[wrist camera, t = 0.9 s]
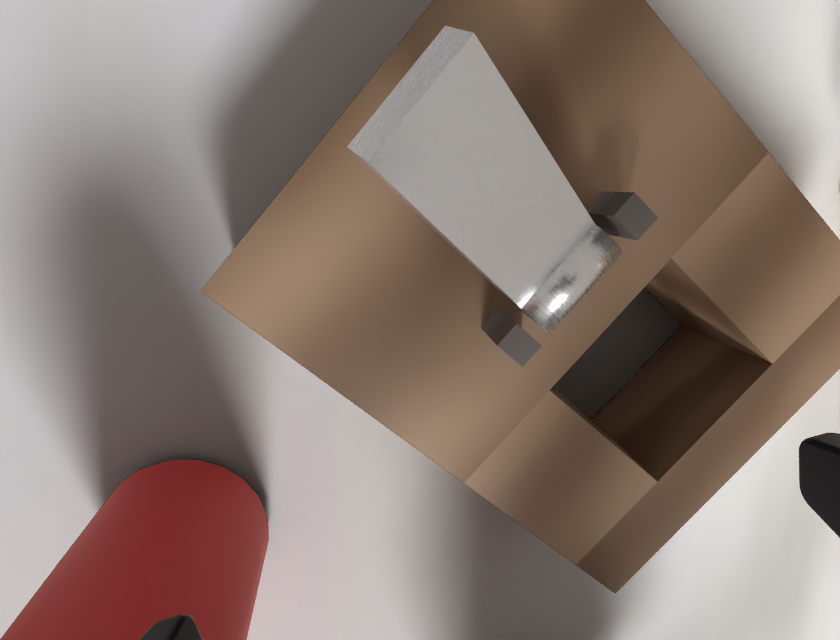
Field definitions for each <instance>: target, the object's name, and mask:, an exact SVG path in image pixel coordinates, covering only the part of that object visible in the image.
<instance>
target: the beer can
mask: <svg viewBox="0 0 840 640" xmlns="http://www.w3.org/2000/svg"><path fill="white" fill-rule="evenodd" d="M268 540H269V538H268V517H267V515H266V512H265V510H264V507H263V505H262V502H261V500H260V498H259V496H258V495H257V494H256V493H255V491H254V490H253V489H252V488H251V487H250V486H249V485H248V484H247V483H246V481H245V480H244V479H243V478H241V477H239V476H238V475H236V474H234V473H233V472H231V471H229V470H227V469H226V468H224V467H222V466H219V465H215V464H211V463H208V462H204V461H200V460H168V461H165V462H162V463H158V464H155V465H152V466H148V467H145V468H142V469H140V470H138V471H137V472H135V473H134V474H132V475H131V476H129V477H128V478H126V479H125V480H123V481H122V482H120V483H119V484H118V486H117V487H116V488H115V490H114V491H113V492H112V494H111V495H110V496H109V498H108V499H107V500H106V501H105V503H104V504H103V505H102V507H101V508H100V509H99V511H98V512H97V513H96V515H95V516H94V517H93V518H92V520H91V521H90V522H89V524H88V525H87V526H86V528H85V529H84V530H83V532H82V533H81V534H80V536H79V537H78V538H77V539H76V541H75V542H74V543H73V545H72V546H71V547H70V549H69V550H68V551H67V553H66V554H65V555H64V556H63V558H62V559H61V560H60V562H59V563H58V564H57V566H56V567H55V568H54V570H53V571H52V572H51V574H50V575H49V576H48V577H47V579H46V580H45V581H44V583H43V584H42V585H41V587H40V588H39V589H38V591H37V592H36V593H35V594H34V596H33V597H32V598H31V600H30V601H29V602H28V604H27V605H26V606H25V608H24V609H23V610H22V612H21V613H20V614H19V615H18V617H17V618H16V619H15V621H14V622H13V623H12V625H11V626H10V627H9V629H8V630H7V631H6V633H5V634H4V635H3V636H2V638H1V639H0V640H139V639H140V638H141V637H142V636H143V635H144V634H145V633H146V632H147V631H148V630H149V629H150V628H151V626H153V625H154V624H155V623H156V622H158V621H160V620H162V619H165V618H169V617H173V616H176V615H180V614H184V613H185V614H189V615H191V616H192V617H193V619H194V621H195V623H196V625H197V627H198V630H199V632H200V634H201V637H202V639H203V640H246V639H247V635H248V630H249V626H250V621H251V617H252V612H253V608H254V603H255V599H256V594H257V590H258V585H259V581H260V576H261V572H262V567H263V563H264V558H265V554H266V549H267V545H268Z"/></svg>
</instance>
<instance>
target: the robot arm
mask: <svg viewBox="0 0 840 640" xmlns="http://www.w3.org/2000/svg"><path fill="white" fill-rule="evenodd" d="M799 480H800V490H801V493H802V495H803V497H804V499H805V501H806V502H807V504H808V505H809V506H810V507H811V508H812V509H813V510H814V511H815V512H816V513H817V514H818V515H819V516H820V517H821V519H822V520H823V521H824V522H825V523H826V524H827V525H828V526H829V527H830V528H831V529H832V530H833V531H834V532H835V533H836V534H837V535H838V536H839V537H840V434H838V433H825V434H821V435H818V436H814V437H810V438H807V439H805V440H804V441H802V443H801V445H800V447H799ZM139 640H203V639H202V637H201V634H200V632H199V630H198V627H197V625H196V623H195V621H194V619H193V617H192V616H191V615H189V614H185V613H184V614H180V615H176V616H173V617H169V618H165V619H162V620H160V621H158V622H156V623H155V624H154V625H153V626H151V628H150V629H149V630H148V631H147V632H146V633H145V634H144V635H143V636H142V637H141V638H140V639H139Z"/></svg>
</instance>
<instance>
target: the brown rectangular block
mask: <svg viewBox="0 0 840 640" xmlns="http://www.w3.org/2000/svg"><path fill="white" fill-rule="evenodd" d="M445 26H448V27H452V28H456V29H461V30H465V31H469V32H473V33H475V35H476V37H477V38H478V40H479V41H480V43H481V45H482V46H483V48H484V49H485V51H486V52H487V54H488V56H489V57H490V59H491V60H492V62H493V64H494V65H495V67H496V68H497V70H498V71H499V73H500V75H501V76H502V78H503V79H504V81H505V82H506V84H507V86H508V87H509V89H510V90H511V92H512V94H513V95H514V97H515V98H516V100H517V101H518V103H519V105H520V106H521V108H522V109H523V111H524V113H525V114H526V116H527V117H528V119H529V120H530V122H531V124H532V125H533V127H534V128H535V130H536V131H537V133H538V135H539V136H540V138H541V139H542V141H543V143H544V144H545V146H546V147H547V149H548V150H549V152H550V154H551V155H552V157H553V158H554V160H555V162H556V163H557V165H558V166H559V168H560V169H561V171H562V173H563V174H564V176H565V177H566V179H567V180H568V182H569V184H570V185H571V187H572V188H573V190H574V192H575V193H576V195H577V196H578V198H579V199H580V201H581V203H582V204H583V206H584V207H585V209H586V211H587V212H588V214H589V215H590V217H591V218H592V220H593V222H594V223H595V225H597V226H598V227H599V228H601V229H602V230H603V231H605V232H606V233H607V234H608V235H609V236H610V237H612V238H613V239H614V240H615V242H616V243H617V244H618V245H619V246H620V248H621V249H622V252H623V254H622V255H621V256H620V257H619V258H618V260H617V261H616V262H615V263H614V264H613V265H612V266H611V267H610V268H609V269H608V271H607V272H606V273H605V274H604V275H603V276H602V277H601V278H600V279H599V280H598V282H597V283H596V284H595V285H594V286H593V287H592V288H591V289H590V290H589V292H588V293H587V294H586V295H585V296H584V297H583V298H582V299H581V300H580V301H579V303H578V304H577V305H576V306H575V307H574V308H573V309H572V310H571V311H570V312H569V314H568V315H567V316H566V317H565V318H564V319H563V320H562V321H561V322H560V323H559V325H558V326H557V327H556V328H555V329H554V330H553V331H552V332H551V333H550V334H549V333H547V332H546V331H545V330H543V329H542V328H541V327H540V326H538V325H537V324H536V323H535V322H534V321H532V320H531V319H530V318H529V317H528V316H527V315H525V314H524V313H523V312H522V311H521V310H520V309H519V308H517V307H516V306H515V305H514V304H513V303H512V302H511V301H510V300H509V299H508V298H507V297H506V296H505V295H503V294H502V293H501V292H500V291H499V290H498V289H497V288H496V287H495V286H494V285H493V284H492V283H491V282H490V281H489V280H488V279H487V278H485V277H484V276H483V275H482V274H481V273H480V272H479V271H478V270H477V269H476V268H475V267H474V266H473V265H472V264H471V263H470V262H469V261H467V260H466V259H465V258H464V257H463V256H462V255H461V254H460V253H459V252H458V251H457V250H456V249H455V248H454V247H453V246H452V245H450V244H449V243H448V242H447V241H446V240H445V239H444V238H443V237H442V236H441V235H440V234H439V233H438V232H437V231H436V230H435V229H434V228H432V227H431V226H430V225H429V224H428V223H427V222H426V221H425V220H424V219H423V218H422V217H421V216H420V215H419V214H418V213H417V212H416V211H414V210H413V209H412V208H411V207H410V206H409V205H408V204H407V203H406V202H405V201H404V200H403V199H402V198H401V197H400V196H399V195H397V194H396V193H395V192H394V191H393V190H392V189H391V188H390V187H389V186H388V185H387V184H386V183H385V182H384V181H383V180H382V179H381V178H379V177H378V176H377V175H376V174H375V173H374V172H373V171H372V170H371V169H370V168H369V167H368V166H367V165H366V164H365V163H364V162H363V161H361V160H360V159H359V158H358V157H357V156H356V155H355V154H354V153H353V152H352V151H351V150H350V149H349V148H348V147H347V146H348V145H349V144H350V143H351V141H352V140H353V139H354V138H355V136H356V135H357V134H358V133H359V131H360V130H361V129H362V128H363V126H364V125H365V124H366V123H367V122H368V120H369V119H370V118H371V117H372V115H373V114H374V113H375V112H376V110H377V109H378V108H379V107H380V106H381V104H382V103H383V102H384V101H385V99H386V98H387V97H388V96H389V94H390V93H391V92H392V91H393V89H394V88H395V87H396V86H397V85H398V83H399V82H400V81H401V80H402V78H403V77H404V76H405V75H406V73H407V72H408V71H409V70H410V69H411V67H412V66H413V65H414V64H415V62H416V61H417V60H418V59H419V57H420V56H421V55H422V54H423V52H424V51H425V50H426V49H427V48H428V46H429V45H430V44H431V43H432V41H433V40H434V39H435V38H436V36H437V35H438V34H439V33H440V32H441V30H442V29H443V28H444V27H445ZM644 288H645V289H646V290H647V291H648V292H649V293H650V294H651V295H652V296H653V297H654V298H655V299H656V300H657V301H658V302H659V303H660V304H661V305H662V306H663V307H664V308H665V309H666V310H667V311H668V312H669V313H670V314H671V315H672V316H673V317H674V318H675V319H676V320H677V321H678V322H679V323H680V324H681V327H680V328H679V329H678V330H677V331H676V332H675V333H674V334H673V335H672V336H671V337H670V338H669V339H668V340H667V341H666V342H665V344H664V345H663V346H662V347H661V348H660V349H659V350H658V351H657V352H656V353H655V354H654V355H653V356H652V357H651V358H650V359H649V361H648V362H647V363H646V364H645V365H644V366H643V367H642V368H641V369H640V370H639V371H638V372H637V373H636V374H635V375H634V376H633V378H632V379H631V380H630V381H629V382H628V383H627V384H626V385H625V386H624V387H623V388H622V389H621V390H620V391H619V392H618V393H617V394H616V396H615V397H614V398H613V399H612V400H611V401H610V402H609V403H608V404H607V405H606V406H605V407H604V408H603V409H602V410H601V411H600V413H599V414H598V415H597V416H596V417H595V418H594V419H592V418H590V417H589V416H588V415H587V414H586V413H585V412H583V411H582V410H581V409H580V408H579V407H578V406H576V405H575V404H574V403H573V402H572V401H570V400H569V399H568V398H567V397H566V396H565V395H563V394H562V393H561V392H560V391H559V390H558V389H556V388H555V387H554V385H555V384H556V383H557V382H558V381H559V380H560V379H561V377H562V376H563V375H564V374H565V373H566V372H567V371H568V370H569V369H570V368H571V367H572V365H573V364H574V363H575V362H576V361H577V360H578V359H579V358H580V357H581V356H582V355H583V354H584V352H585V351H586V350H587V349H588V348H589V347H590V346H591V345H592V344H593V343H594V342H595V341H596V339H597V338H598V337H599V336H600V335H601V334H602V333H603V332H604V331H605V330H606V329H607V328H608V326H609V325H610V324H611V323H612V322H613V321H614V320H615V319H616V318H617V317H618V316H619V315H620V313H621V312H622V311H623V310H624V309H625V308H626V307H627V306H628V305H629V304H630V303H631V302H632V300H633V299H634V298H635V297H636V296H637V295H638V294H639V293H640V292H641V291H642V290H643V289H644ZM200 292H202V293H203V294H204V295H206V296H207V297H208V298H210V299H211V300H213V301H214V302H215V303H217V304H218V305H219V306H221V307H222V308H224V309H225V310H226V311H228V312H229V313H230V314H232V315H233V316H235V317H236V318H237V319H239V320H240V321H241V322H243V323H244V324H246V325H247V326H248V327H250V328H251V329H252V330H254V331H255V332H257V333H258V334H259V335H261V336H262V337H263V338H265V339H266V340H268V341H269V342H270V343H272V344H273V345H274V346H276V347H277V348H278V349H280V350H281V351H283V352H284V353H285V354H287V355H288V356H289V357H291V358H292V359H294V360H295V361H296V362H298V363H299V364H300V365H302V366H303V367H305V368H306V369H307V370H309V371H310V372H311V373H313V374H314V375H316V376H317V377H318V378H320V379H321V380H322V381H324V382H325V383H327V384H328V385H329V386H331V387H332V388H333V389H335V390H336V391H338V392H339V393H340V394H342V395H343V396H344V397H346V398H347V399H349V400H350V401H351V402H353V403H354V404H355V405H357V406H358V407H360V408H361V409H362V410H364V411H365V412H366V413H368V414H369V415H371V416H372V417H373V418H375V419H376V420H377V421H379V422H380V423H382V424H383V425H384V426H386V427H387V428H388V429H390V430H391V431H393V432H394V433H395V434H397V435H398V436H399V437H401V438H402V439H404V440H405V441H406V442H408V443H409V444H410V445H412V446H413V447H415V448H416V449H417V450H419V451H420V452H421V453H423V454H424V455H425V456H427V457H428V458H430V459H431V460H432V461H434V462H435V463H436V464H438V465H439V466H441V467H442V468H443V469H445V470H446V471H447V472H449V473H450V474H452V475H453V476H454V477H456V478H457V479H458V480H460V481H461V482H463V483H464V484H465V485H467V486H468V487H469V488H471V489H472V490H474V491H475V492H476V493H478V494H479V495H480V496H482V497H483V498H485V499H486V500H487V501H489V502H490V503H491V504H493V505H494V506H496V507H497V508H498V509H500V510H501V511H502V512H504V513H505V514H507V515H508V516H509V517H511V518H512V519H513V520H515V521H516V522H518V523H519V524H520V525H522V526H523V527H524V528H526V529H527V530H529V531H530V532H531V533H533V534H534V535H535V536H537V537H538V538H540V539H541V540H542V541H544V542H545V543H546V544H548V545H549V546H551V547H552V548H553V549H555V550H556V551H557V552H559V553H560V554H561V555H563V556H564V557H566V558H567V559H568V560H570V561H571V562H572V563H574V564H575V565H577V566H578V567H579V568H581V569H582V570H583V571H585V572H586V573H588V574H589V575H590V576H592V577H593V578H594V579H596V580H597V581H599V582H600V583H601V584H603V585H604V586H605V587H607V588H608V589H610V590H611V591H612V592H614V593H616V592H617V591H618V590H619V589H620V588H621V587H622V586H623V585H624V584H625V583H626V582H627V581H628V580H629V579H630V578H631V577H632V576H633V575H634V574H635V573H636V572H637V571H638V570H639V569H640V568H641V567H642V566H643V565H644V564H645V563H646V562H647V561H648V560H649V559H650V558H651V557H652V556H653V555H654V554H655V553H656V552H657V551H658V550H659V549H660V548H661V547H662V546H663V545H664V544H665V543H666V542H667V541H668V540H669V539H670V538H671V537H672V536H673V535H674V534H675V533H676V532H677V531H678V530H679V529H680V528H681V527H682V526H683V525H684V524H685V523H686V522H687V521H688V520H689V519H690V518H691V517H692V516H693V515H694V514H695V513H696V512H697V511H698V510H699V509H700V508H701V507H702V506H703V505H704V504H705V503H706V502H707V501H708V500H709V499H710V498H711V497H712V496H713V495H714V494H715V493H716V492H717V491H718V490H719V489H720V488H721V487H722V486H723V485H724V484H725V483H726V482H727V481H728V480H729V479H730V478H731V477H732V476H733V475H734V474H735V473H736V472H737V471H738V470H739V469H740V468H741V467H742V466H743V465H744V464H745V463H746V462H747V461H748V460H749V459H750V458H751V457H752V456H753V455H754V454H755V453H756V452H757V451H758V450H759V449H760V448H761V447H762V446H763V445H764V444H765V443H766V442H767V441H768V440H769V439H770V438H771V437H772V436H773V435H774V434H775V433H776V432H777V431H778V430H779V429H780V428H781V427H782V426H783V425H784V424H785V423H786V422H787V421H788V420H789V419H790V418H791V417H792V416H793V415H794V414H795V413H796V412H797V411H798V410H799V409H800V408H801V407H802V406H803V405H804V404H805V403H806V402H807V401H808V400H809V399H810V398H811V397H812V396H813V395H814V394H815V393H816V392H817V391H818V390H819V389H820V388H821V387H822V386H823V385H824V384H825V383H826V382H827V381H828V380H829V379H830V378H831V377H832V376H833V375H834V374H835V373H836V372H837V371H838V370H839V369H840V240H839V239H838V237H837V236H836V235H835V234H834V232H833V231H832V230H831V229H830V227H829V226H828V225H827V224H826V223H825V221H824V220H823V219H822V218H821V216H820V215H819V214H818V213H817V211H816V210H815V209H814V208H813V207H812V205H811V204H810V203H809V202H808V200H807V199H806V198H805V197H804V195H803V194H802V193H801V192H800V191H799V189H798V188H797V187H796V186H795V184H794V183H793V182H792V181H791V179H790V178H789V177H788V176H787V175H786V173H785V172H784V171H783V170H782V168H781V167H780V166H779V165H778V163H777V162H776V161H775V160H774V159H773V157H772V156H771V155H770V154H769V152H768V151H767V150H766V149H765V147H764V146H763V145H762V144H761V143H760V141H759V140H758V139H757V138H756V136H755V135H754V134H753V133H752V132H751V130H750V129H749V128H748V127H747V125H746V124H745V123H744V122H743V120H742V119H741V118H740V117H739V116H738V114H737V113H736V112H735V111H734V109H733V108H732V107H731V106H730V104H729V103H728V102H727V101H726V100H725V98H724V97H723V96H722V95H721V93H720V92H719V91H718V90H717V88H716V87H715V86H714V85H713V84H712V82H711V81H710V80H709V79H708V77H707V76H706V75H705V74H704V72H703V71H702V70H701V69H700V68H699V66H698V65H697V64H696V63H695V61H694V60H693V59H692V58H691V56H690V55H689V54H688V53H687V52H686V50H685V49H684V48H683V47H682V45H681V44H680V43H679V42H678V40H677V39H676V38H675V37H674V36H673V34H672V33H671V32H670V31H669V29H668V28H667V27H666V26H665V24H664V23H663V22H662V21H661V20H660V18H659V17H658V16H657V15H656V13H655V12H654V11H653V10H652V8H651V7H650V6H649V5H648V4H647V2H646V1H645V0H434V1H433V2H432V3H431V4H430V6H429V7H428V8H427V9H426V11H425V12H424V13H423V14H422V16H421V17H420V18H419V19H418V21H417V22H416V23H415V24H414V26H413V27H412V28H411V29H410V30H409V32H408V33H407V34H406V35H405V37H404V38H403V39H402V40H401V42H400V43H399V44H398V45H397V47H396V48H395V49H394V50H393V52H392V53H391V54H390V55H389V57H388V58H387V59H386V60H385V62H384V63H383V64H382V65H381V67H380V68H379V69H378V70H377V72H376V73H375V74H374V75H373V77H372V78H371V79H370V80H369V82H368V83H367V84H366V85H365V87H364V88H363V89H362V90H361V92H360V93H359V94H358V95H357V97H356V98H355V99H354V100H353V102H352V103H351V104H350V105H349V107H348V108H347V109H346V110H345V111H344V113H343V114H342V115H341V116H340V118H339V119H338V120H337V121H336V123H335V124H334V125H333V126H332V128H331V129H330V130H329V131H328V133H327V134H326V135H325V136H324V138H323V139H322V140H321V141H320V143H319V144H318V145H317V146H316V148H315V149H314V150H313V151H312V153H311V154H310V155H309V156H308V158H307V159H306V160H305V161H304V163H303V164H302V165H301V166H300V168H299V169H298V170H297V171H296V173H295V174H294V175H293V176H292V178H291V179H290V180H289V181H288V183H287V184H286V185H285V186H284V188H283V189H282V190H281V191H280V192H279V194H278V195H277V196H276V197H275V199H274V200H273V201H272V202H271V204H270V205H269V206H268V207H267V209H266V210H265V211H264V212H263V214H262V215H261V216H260V217H259V219H258V220H257V221H256V222H255V224H254V225H253V226H252V227H251V229H250V230H249V231H248V232H247V234H246V235H245V236H244V237H243V239H242V240H241V241H240V242H239V244H238V245H237V246H236V247H235V249H234V250H233V251H232V252H231V254H230V255H229V256H228V257H227V259H226V260H225V261H224V262H223V264H222V265H221V266H220V267H219V268H218V270H217V271H216V272H215V273H214V275H213V276H212V277H211V278H210V280H209V281H208V282H207V283H206V285H205V286H204V287H203V288H202V290H201V291H200Z"/></svg>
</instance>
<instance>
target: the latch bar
mask: <svg viewBox="0 0 840 640" xmlns="http://www.w3.org/2000/svg"><path fill="white" fill-rule="evenodd" d="M347 147H348V148H349V149H350V150H351V151H352V152H353V153H354V154H355V155H356V156H357V157H358V158H359V159H360V160H361V161H363V162H364V163H365V164H366V165H367V166H368V167H369V168H370V169H371V170H372V171H373V172H374V173H375V174H376V175H377V176H378V177H379V178H381V179H382V180H383V181H384V182H385V183H386V184H387V185H388V186H389V187H390V188H391V189H392V190H393V191H394V192H395V193H396V194H397V195H399V196H400V197H401V198H402V199H403V200H404V201H405V202H406V203H407V204H408V205H409V206H410V207H411V208H412V209H413V210H414V211H416V212H417V213H418V214H419V215H420V216H421V217H422V218H423V219H424V220H425V221H426V222H427V223H428V224H429V225H430V226H431V227H432V228H434V229H435V230H436V231H437V232H438V233H439V234H440V235H441V236H442V237H443V238H444V239H445V240H446V241H447V242H448V243H449V244H450V245H452V246H453V247H454V248H455V249H456V250H457V251H458V252H459V253H460V254H461V255H462V256H463V257H464V258H465V259H466V260H467V261H469V262H470V263H471V264H472V265H473V266H474V267H475V268H476V269H477V270H478V271H479V272H480V273H481V274H482V275H483V276H484V277H485V278H487V279H488V280H489V281H490V282H491V283H492V284H493V285H494V286H495V287H496V288H497V289H498V290H499V291H500V292H501V293H502V294H503V295H505V296H506V297H507V298H508V299H509V300H510V301H511V302H512V303H513V304H514V305H515V306H516V307H517V308H519V309H520V310H521V311H522V312H523V313H524V314H525V315H527V316H528V317H529V318H530V319H531V320H532V321H534V322H535V323H536V324H537V325H538V326H540V327H541V328H542V329H543V330H545V331H546V332H547V333H549V334H550V333H551V332H552V331H553V330H554V329H555V328H556V327H557V326H558V325H559V323H560V322H561V321H562V320H563V319H564V318H565V317H566V316H567V315H568V314H569V312H570V311H571V310H572V309H573V308H574V307H575V306H576V305H577V304H578V303H579V301H580V300H581V299H582V298H583V297H584V296H585V295H586V294H587V293H588V292H589V290H590V289H591V288H592V287H593V286H594V285H595V284H596V283H597V282H598V280H599V279H600V278H601V277H602V276H603V275H604V274H605V273H606V272H607V271H608V269H609V268H610V267H611V266H612V265H613V264H614V263H615V262H616V261H617V260H618V258H619V257H620V256H621V255H622V254H623V252H622V249H621V248H620V246H619V245H618V244H617V243H616V242H615V240H614V239H613V238H612V237H610V236H609V235H608V234H607V233H606V232H605V231H603V230H602V229H601V228H599V227H598V226H597V225H595V223H594V222H593V220H592V218H591V217H590V215H589V214H588V212H587V211H586V209H585V207H584V206H583V204H582V203H581V201H580V199H579V198H578V196H577V195H576V193H575V192H574V190H573V188H572V187H571V185H570V184H569V182H568V180H567V179H566V177H565V176H564V174H563V173H562V171H561V169H560V168H559V166H558V165H557V163H556V162H555V160H554V158H553V157H552V155H551V154H550V152H549V150H548V149H547V147H546V146H545V144H544V143H543V141H542V139H541V138H540V136H539V135H538V133H537V131H536V130H535V128H534V127H533V125H532V124H531V122H530V120H529V119H528V117H527V116H526V114H525V113H524V111H523V109H522V108H521V106H520V105H519V103H518V101H517V100H516V98H515V97H514V95H513V94H512V92H511V90H510V89H509V87H508V86H507V84H506V82H505V81H504V79H503V78H502V76H501V75H500V73H499V71H498V70H497V68H496V67H495V65H494V64H493V62H492V60H491V59H490V57H489V56H488V54H487V52H486V51H485V49H484V48H483V46H482V45H481V43H480V41H479V40H478V38H477V37H476V35H475V33H473V32H469V31H465V30H461V29H456V28H452V27H448V26H445V27H444V28H443V29H442V30H441V32H440V33H439V34H438V35H437V36H436V38H435V39H434V40H433V41H432V43H431V44H430V45H429V46H428V48H427V49H426V50H425V51H424V52H423V54H422V55H421V56H420V57H419V59H418V60H417V61H416V62H415V64H414V65H413V66H412V67H411V69H410V70H409V71H408V72H407V73H406V75H405V76H404V77H403V78H402V80H401V81H400V82H399V83H398V85H397V86H396V87H395V88H394V89H393V91H392V92H391V93H390V94H389V96H388V97H387V98H386V99H385V101H384V102H383V103H382V104H381V106H380V107H379V108H378V109H377V110H376V112H375V113H374V114H373V115H372V117H371V118H370V119H369V120H368V122H367V123H366V124H365V125H364V126H363V128H362V129H361V130H360V131H359V133H358V134H357V135H356V136H355V138H354V139H353V140H352V141H351V143H350V144H349V145H348V146H347Z"/></svg>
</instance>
